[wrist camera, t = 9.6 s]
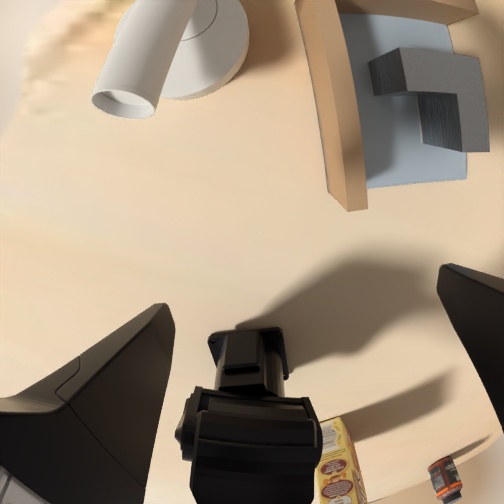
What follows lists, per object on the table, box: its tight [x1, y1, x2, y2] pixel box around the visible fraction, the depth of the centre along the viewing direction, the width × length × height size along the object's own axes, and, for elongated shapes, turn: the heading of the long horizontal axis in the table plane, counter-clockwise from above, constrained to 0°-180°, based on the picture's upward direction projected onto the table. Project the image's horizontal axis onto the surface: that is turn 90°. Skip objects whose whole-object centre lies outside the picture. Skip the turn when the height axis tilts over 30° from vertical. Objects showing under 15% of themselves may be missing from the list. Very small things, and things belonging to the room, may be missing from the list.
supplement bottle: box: [428, 457, 462, 504], centre depth 37 cm, size 6×6×11 cm
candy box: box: [316, 417, 368, 504], centre depth 26 cm, size 9×4×15 cm, turn 27°
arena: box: [294, 0, 479, 212], centre depth 15 cm, size 14×12×5 cm
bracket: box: [368, 47, 490, 152], centre depth 14 cm, size 6×6×5 cm
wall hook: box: [90, 0, 249, 119], centre depth 12 cm, size 9×10×10 cm
